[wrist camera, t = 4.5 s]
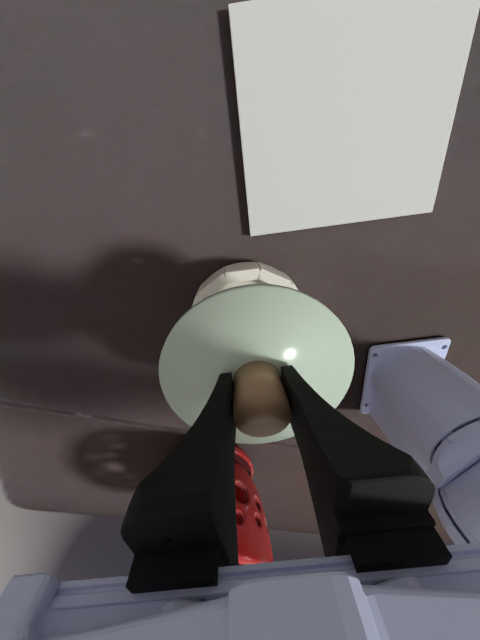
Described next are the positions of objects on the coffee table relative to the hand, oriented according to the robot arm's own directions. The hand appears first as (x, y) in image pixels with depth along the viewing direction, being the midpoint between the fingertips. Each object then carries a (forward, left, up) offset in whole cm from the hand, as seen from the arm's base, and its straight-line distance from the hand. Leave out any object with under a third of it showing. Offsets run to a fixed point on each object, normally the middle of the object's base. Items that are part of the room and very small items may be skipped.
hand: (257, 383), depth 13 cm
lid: (0, 0, -1) cm, 1 cm away
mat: (+13, -8, -9) cm, 18 cm away
